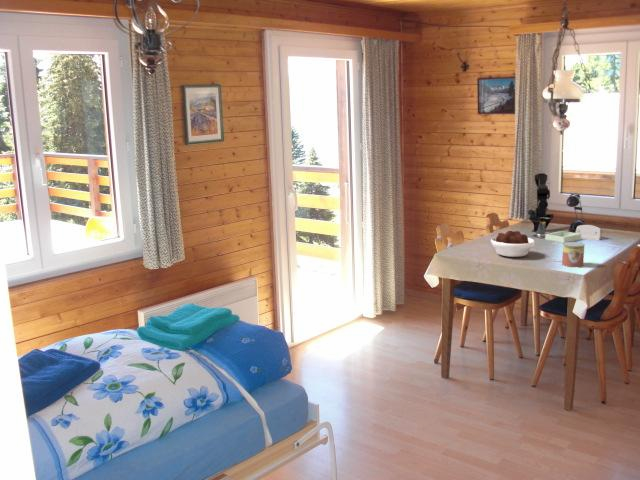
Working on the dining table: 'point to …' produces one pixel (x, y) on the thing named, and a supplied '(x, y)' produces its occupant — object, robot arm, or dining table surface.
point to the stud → (539, 236)
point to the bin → (563, 237)
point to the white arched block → (589, 232)
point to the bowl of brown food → (512, 244)
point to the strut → (541, 228)
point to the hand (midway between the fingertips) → (540, 229)
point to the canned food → (573, 254)
